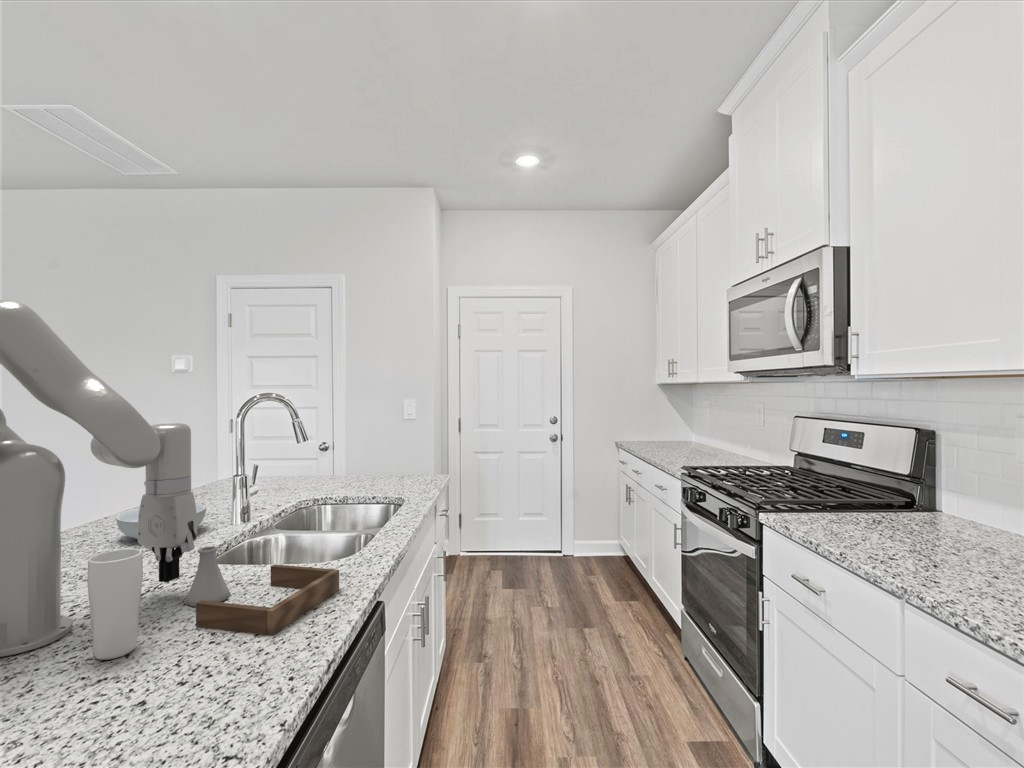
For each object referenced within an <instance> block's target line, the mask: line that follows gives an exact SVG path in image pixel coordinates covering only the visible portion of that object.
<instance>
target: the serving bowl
mask: <svg viewBox="0 0 1024 768" xmlns="http://www.w3.org/2000/svg"><path fill="white" fill-rule="evenodd" d="M195 505H196V512H197V527H199V525H201V523H202V522H203V520H204V519H205V516H206V511H207V506H206V504H202V503H196V502H195ZM139 509H140V507H138V508H134V509H130V510H127V511H125V512H121V513H120V514H118V515H117V516H116V517H115V520H116V521H115V522H116V525H117V527H118V530H120V532H121V533H122V534H123V535H125V536H127V537H129V538H132V539H136V540H138V539H137V532H138V517H139Z"/></svg>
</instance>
